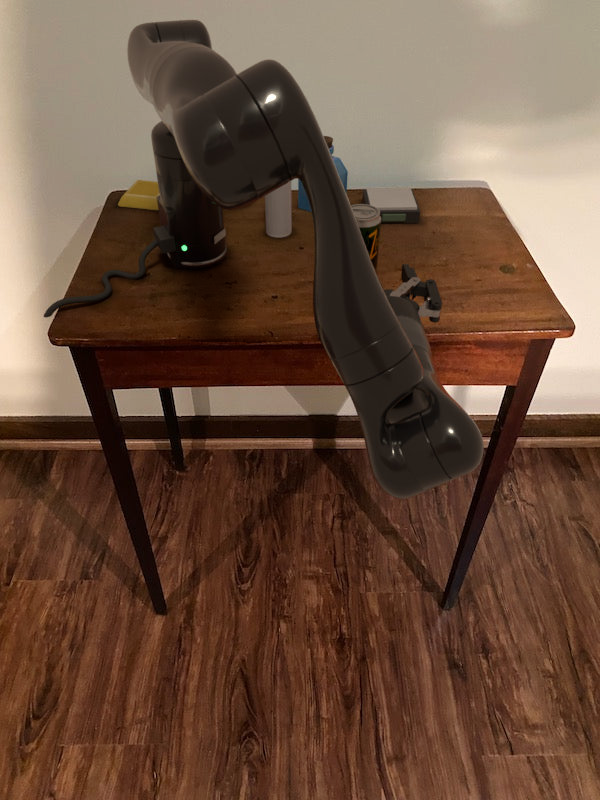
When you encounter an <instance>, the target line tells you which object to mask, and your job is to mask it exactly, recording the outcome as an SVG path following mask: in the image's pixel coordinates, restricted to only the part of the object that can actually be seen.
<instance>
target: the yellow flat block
mask: <svg viewBox="0 0 600 800" xmlns="http://www.w3.org/2000/svg"><path fill="white" fill-rule="evenodd" d="M157 196H160V194H159V187H158V181H153V180H152V181H151V180H141V179H137V180H136V181H135V182H134V183H133V184H132V185H131V186H130V187H129V188H128V189H127V190H126V191H125V192H124V193H123V195H122V196H121V197H120V199H119V201H118V203H117V206H118V207H122V208H132V209H141V210H149V211H159V209H158V203H157Z"/></svg>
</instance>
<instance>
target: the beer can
mask: <svg viewBox="0 0 600 800" xmlns="http://www.w3.org/2000/svg"><path fill="white" fill-rule="evenodd" d="M351 207H352V210H353V212H354V215H355V217H356V220H357V223H358V225H359V228H360V231H361V234H362V237H363V240H364V242H365V245H366V248H367V250H368V253H369V256H370V258H371V261H372V264H373V266H374V269H375V271H376V274H377V273H378V272H377V271H378V261H379V250H380V249H379V247H380V237H381V228H382V226H381V225H382V224H381V217H380V211H379V209H378V208H376V207H374V206H372V205H367V204H363V203H356V204H352V205H351ZM377 275H378V274H377Z"/></svg>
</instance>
